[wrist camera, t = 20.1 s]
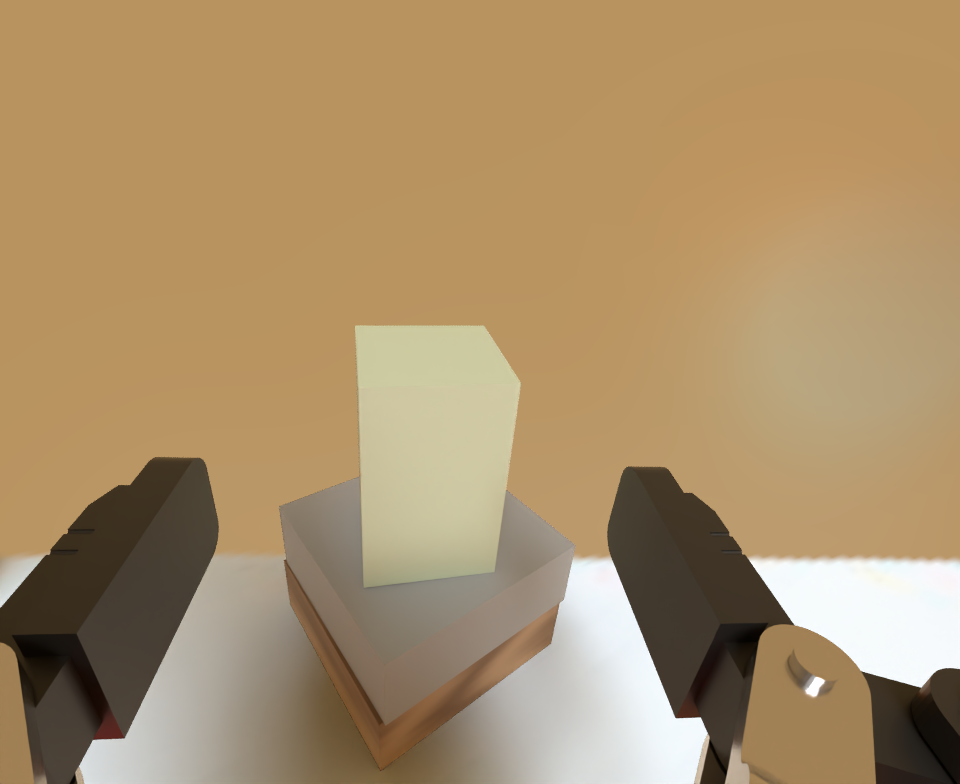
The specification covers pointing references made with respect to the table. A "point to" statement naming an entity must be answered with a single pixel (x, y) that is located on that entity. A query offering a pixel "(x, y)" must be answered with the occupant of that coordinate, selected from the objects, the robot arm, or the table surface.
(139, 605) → the robot arm
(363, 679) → the tower top block
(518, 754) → the table surface
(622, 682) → the table surface
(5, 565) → the table surface
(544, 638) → the tower base block
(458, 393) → the sage block
